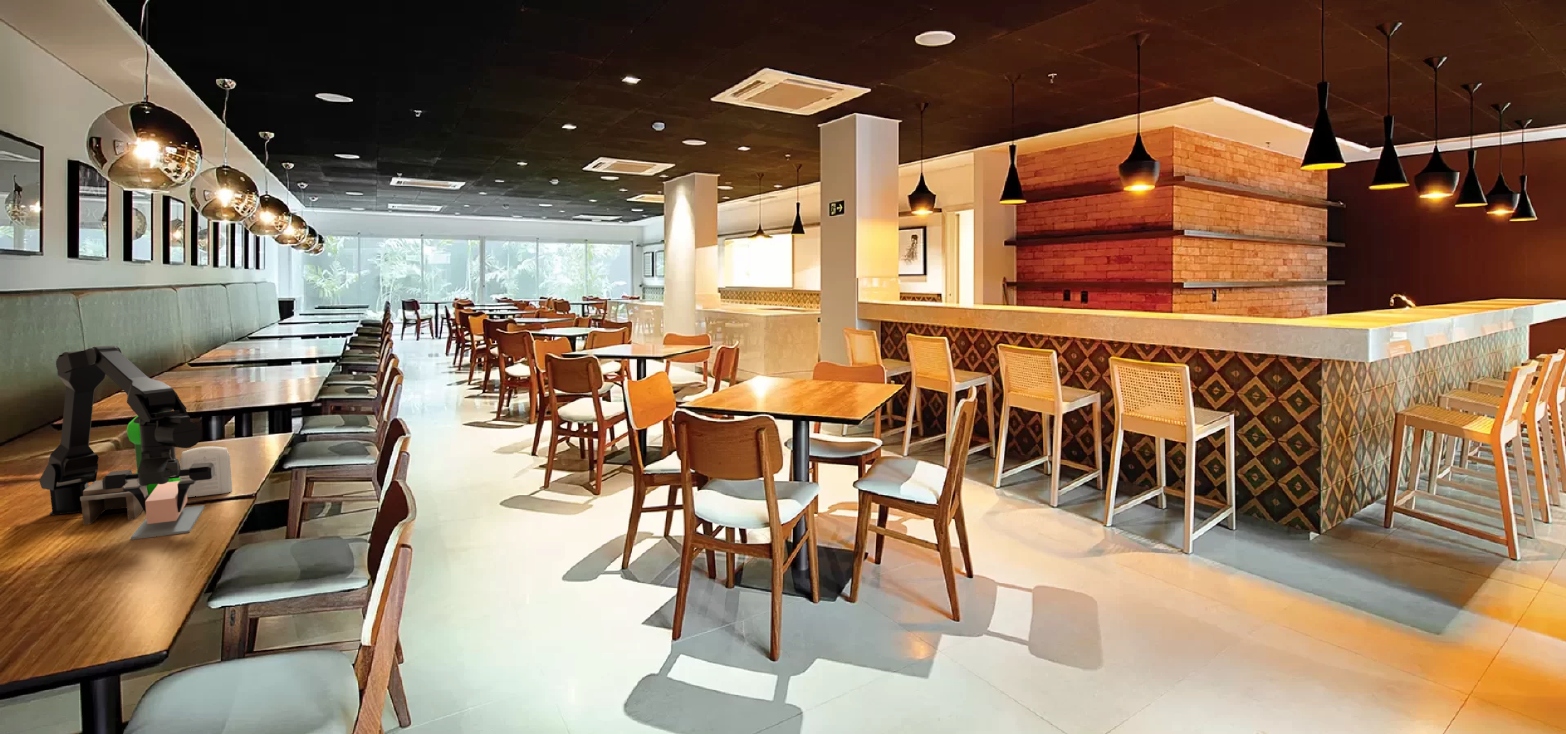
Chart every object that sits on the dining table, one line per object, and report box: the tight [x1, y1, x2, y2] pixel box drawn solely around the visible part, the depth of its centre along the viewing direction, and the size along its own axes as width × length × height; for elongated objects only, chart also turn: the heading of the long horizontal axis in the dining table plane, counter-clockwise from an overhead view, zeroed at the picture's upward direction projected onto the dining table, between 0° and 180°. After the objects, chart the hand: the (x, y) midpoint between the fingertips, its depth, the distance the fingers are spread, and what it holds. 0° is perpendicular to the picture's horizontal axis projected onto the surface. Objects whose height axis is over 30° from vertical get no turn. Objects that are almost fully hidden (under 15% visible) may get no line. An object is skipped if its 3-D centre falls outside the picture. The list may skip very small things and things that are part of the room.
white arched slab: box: [179, 445, 233, 498], centre depth 198 cm, size 10×4×12 cm, turn 123°
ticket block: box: [145, 481, 188, 524], centre depth 175 cm, size 5×17×5 cm, turn 31°
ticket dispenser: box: [80, 479, 144, 526], centre depth 181 cm, size 9×14×7 cm, turn 29°
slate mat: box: [130, 504, 206, 540], centre depth 176 cm, size 10×21×1 cm, turn 29°
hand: (164, 513), depth 171 cm, fingers closed on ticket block, 5 cm apart
